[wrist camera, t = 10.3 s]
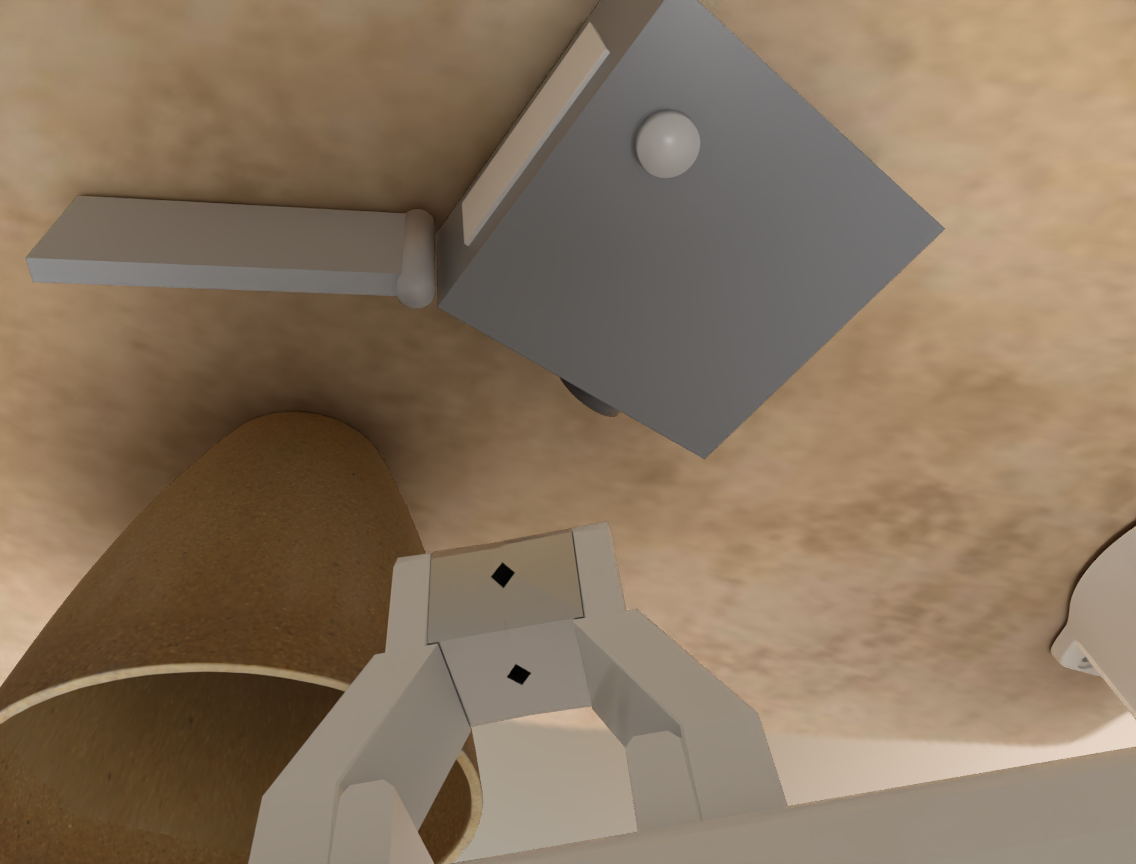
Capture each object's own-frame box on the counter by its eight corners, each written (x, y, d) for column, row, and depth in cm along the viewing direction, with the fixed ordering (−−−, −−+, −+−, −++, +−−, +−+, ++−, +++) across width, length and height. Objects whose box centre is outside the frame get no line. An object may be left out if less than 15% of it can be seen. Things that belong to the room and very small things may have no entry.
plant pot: (525, 407, 36) (572, 739, 24) (390, 614, 44) (372, 950, 31) (168, 268, 30) (-17, 614, 18) (81, 534, 38) (-95, 911, 25)
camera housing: (875, 165, 31) (952, 235, 27) (657, 393, 37) (690, 484, 32) (633, -57, 26) (677, -18, 21) (419, 250, 31) (416, 335, 26)
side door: (76, 189, 28) (17, 257, 24) (435, 209, 30) (435, 275, 26) (88, 236, 29) (34, 309, 25) (434, 253, 31) (434, 322, 27)
